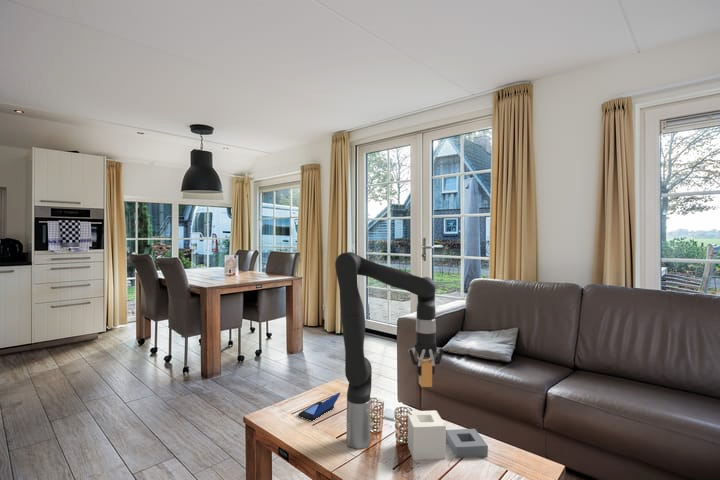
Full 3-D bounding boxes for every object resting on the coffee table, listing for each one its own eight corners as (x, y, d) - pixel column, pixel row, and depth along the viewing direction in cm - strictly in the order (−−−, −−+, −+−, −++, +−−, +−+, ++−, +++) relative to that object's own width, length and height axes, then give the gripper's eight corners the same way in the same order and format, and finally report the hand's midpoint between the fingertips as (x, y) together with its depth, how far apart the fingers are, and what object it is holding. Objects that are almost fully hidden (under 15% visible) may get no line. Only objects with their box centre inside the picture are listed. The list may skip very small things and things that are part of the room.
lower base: (456, 457, 133) (456, 447, 133) (445, 439, 145) (445, 429, 145) (487, 456, 134) (487, 445, 134) (474, 438, 146) (474, 428, 146)
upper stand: (413, 460, 132) (413, 427, 132) (406, 441, 144) (406, 411, 144) (445, 458, 133) (445, 425, 133) (435, 440, 145) (436, 410, 145)
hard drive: (370, 412, 166) (395, 418, 160) (377, 405, 173) (402, 410, 167) (370, 416, 166) (395, 422, 160) (377, 408, 173) (402, 414, 167)
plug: (421, 387, 136) (421, 363, 136) (419, 382, 140) (419, 359, 140) (432, 386, 137) (432, 362, 137) (429, 382, 141) (429, 359, 141)
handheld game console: (319, 404, 177) (319, 385, 177) (341, 411, 170) (341, 391, 170) (296, 417, 164) (296, 396, 164) (319, 425, 157) (319, 404, 157)
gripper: (409, 333, 134) (409, 379, 134) (447, 332, 135) (446, 378, 135) (405, 328, 141) (405, 372, 142) (441, 327, 143) (440, 371, 143)
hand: (425, 374), depth 138 cm, fingers closed on plug, 4 cm apart
